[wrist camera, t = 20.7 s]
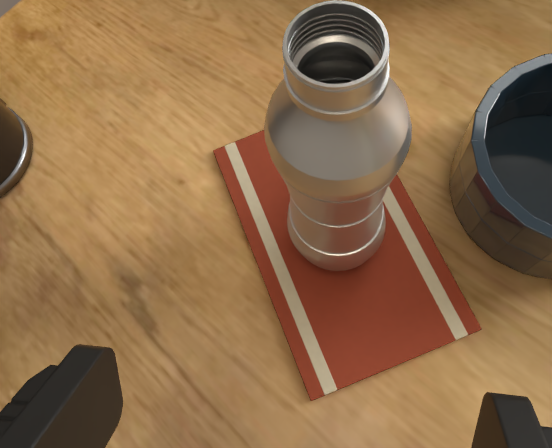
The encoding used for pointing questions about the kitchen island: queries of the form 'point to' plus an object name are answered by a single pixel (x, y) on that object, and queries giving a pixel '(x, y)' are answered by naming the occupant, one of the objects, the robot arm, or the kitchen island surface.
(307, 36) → the metal water bottle
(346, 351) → the towel
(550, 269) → the pot
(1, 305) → the kitchen island surface
